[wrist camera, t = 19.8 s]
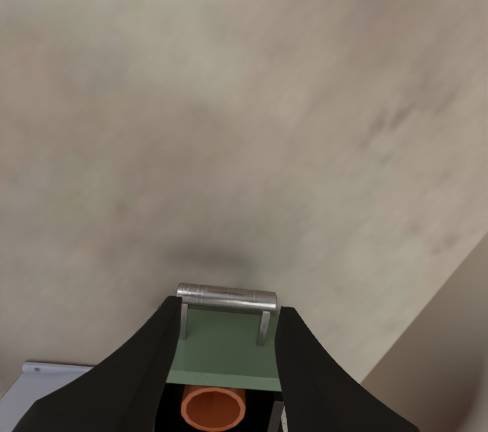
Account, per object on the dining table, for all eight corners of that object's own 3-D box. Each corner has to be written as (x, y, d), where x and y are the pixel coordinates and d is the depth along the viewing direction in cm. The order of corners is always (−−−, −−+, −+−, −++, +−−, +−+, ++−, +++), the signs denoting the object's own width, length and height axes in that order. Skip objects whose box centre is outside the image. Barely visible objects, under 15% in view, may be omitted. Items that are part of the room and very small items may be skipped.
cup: (188, 377, 27) (179, 430, 22) (192, 336, 25) (182, 384, 21) (240, 381, 27) (240, 434, 23) (247, 341, 25) (249, 389, 21)
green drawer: (160, 257, 23) (133, 310, 17) (296, 272, 24) (315, 326, 18) (156, 397, 29) (135, 472, 23) (266, 405, 30) (273, 480, 24)
